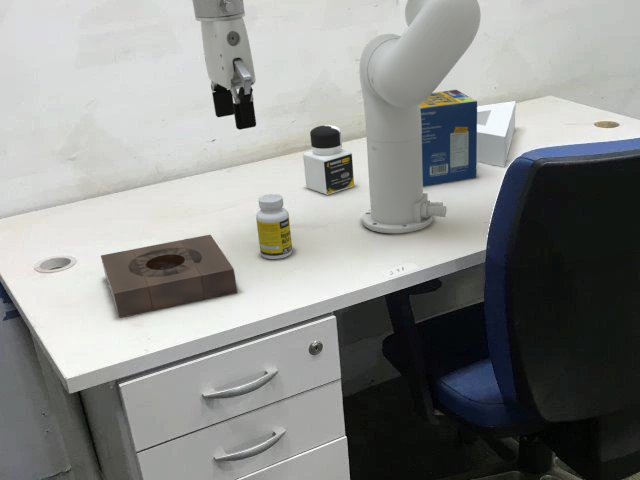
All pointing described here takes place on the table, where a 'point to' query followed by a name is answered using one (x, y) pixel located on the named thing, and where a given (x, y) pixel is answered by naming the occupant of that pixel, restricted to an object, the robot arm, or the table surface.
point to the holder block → (168, 275)
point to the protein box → (448, 137)
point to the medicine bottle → (328, 162)
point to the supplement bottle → (273, 227)
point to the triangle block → (495, 132)
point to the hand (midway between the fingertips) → (235, 121)
